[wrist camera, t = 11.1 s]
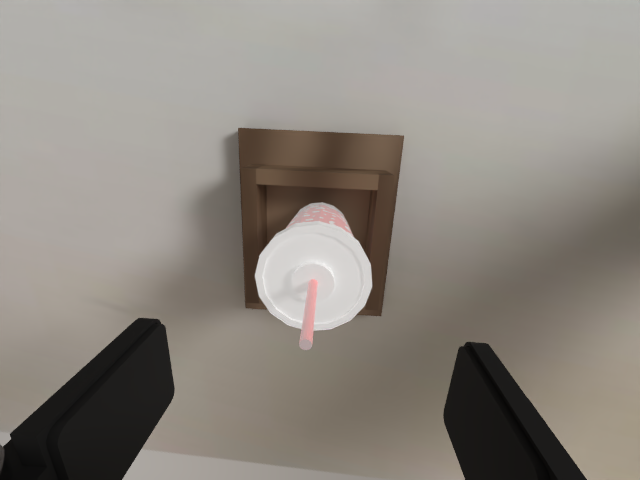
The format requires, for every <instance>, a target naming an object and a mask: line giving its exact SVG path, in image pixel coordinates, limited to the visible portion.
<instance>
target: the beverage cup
mask: <svg viewBox="0 0 640 480" xmlns="http://www.w3.org/2000/svg"><path fill="white" fill-rule="evenodd" d="M255 280H256V285H257V290H258V295H259V297H260V299H261V300H262V302H263V303H264V304H265V306H266V307H267V309H268V310H269V312H270V313H271V314H272V315H274V316H275V317H277V318H278V319H280V320H281V321H282V322H284V323H285V324H287V325H288V326H292V327H296V328H300V329H301V335H300V341H299V346H300V348H301V349H303V350H309V349H310V348H311V347H312V342H313V331H316V330H330V329H333V328H335V327H337V326H340V325H342V324H344V323H346V322H349V321H350V320H351V319H352V318H353V317H354V316H355V315H356V314H357V313H358V312H359V311H360V310H361V309H362V308H363V307H364V306H365V304H366V302H367V299H368V297H369V294H370V291H371V289H372V274H371V264H370V262H369V260H368V258H367V256H366V254H365V252H364V250H363V248H362V247H361V245H360V243H359V241H358V240H357V239H355V238H354V236H353V234H352V232H351V230H350V227H349V225H348V223H347V221H346V219H345V217H344V215H343V213H342V212H341V211H339V210H338V209H337V208H336V207H334V206H333V205H330V204H326V203H323V202H321V203H311V204H309V205H307V206H305V207H303V208H302V209H300V211H299V212H298V213H297V214H296V216H295V217H294V218H293V219H292V221H291V222H290V223H289V225H288V226H287V227H286V229H284V230H282V231H280V232H279V233H277V234H276V235H275V236H274V237H273V239H272V240H271V241H270V242H269V244H268V245H267V246H266V247H265V249H264V250H263V251H262V252H261V254H260V256H259V260H258V264H257V268H256V273H255Z"/></svg>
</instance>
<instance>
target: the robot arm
mask: <svg viewBox="0 0 640 480" xmlns="http://www.w3.org/2000/svg"><path fill="white" fill-rule="evenodd" d="M173 396H174V382H173V375H172V369H171V362H170V355H169V348H168V342H167V335H166V328H165V326H164V325H163V324H161V322H160V321H159V320H158V319H149V318H138V319H137V320H135V321H134V322H133V323H132V324H131V325H130V326H129V327H128V328H127V329H125V330H124V331H123V332H122V333H121V334H120V335H119V336H118V337H117V338H115V339H114V340H113V341H112V342H111V343H110V344H109V345H108V346H107V347H106V348H104V349H103V350H102V351H101V352H100V353H99V354H98V355H97V356H96V357H94V358H93V359H92V360H91V361H90V362H89V363H88V364H87V365H86V366H85V367H83V368H82V369H81V370H80V371H79V372H78V373H77V374H76V375H75V376H73V377H72V378H71V379H70V380H69V381H68V382H67V383H66V384H65V385H64V386H62V387H61V388H60V389H59V390H58V391H57V392H56V393H55V394H54V395H53V396H51V397H50V398H49V399H48V400H47V401H46V402H45V403H44V404H43V405H41V406H40V407H39V408H38V409H37V410H36V411H35V412H34V413H33V414H32V415H30V416H29V417H28V418H27V419H26V420H25V421H24V422H23V423H22V424H20V425H19V426H18V427H17V428H16V429H15V430H14V431H13V432H12V433H11V434H10V436H11V440H10V441H9V442H8V443H7V444H6V445H4V446H3V447H2V446H1V445H0V480H122V479H123V477H124V475H125V474H126V472H127V471H128V469H129V467H130V466H131V464H132V463H133V461H134V460H135V458H136V456H137V455H138V453H139V452H140V450H141V449H142V447H143V445H144V444H145V442H146V441H147V439H148V437H149V436H150V434H151V433H152V431H153V430H154V428H155V426H156V425H157V423H158V422H159V420H160V418H161V417H162V415H163V414H164V412H165V411H166V409H167V407H168V406H169V404H170V403H171V401H172V399H173ZM444 423H445V426H446V429H447V431H448V434H449V437H450V439H451V442H452V445H453V448H454V450H455V453H456V456H457V458H458V461H459V464H460V467H461V469H462V472H463V475H464V477H465V480H587V479H586V478H585V476H584V475H583V474H582V472H581V471H580V469H579V468H578V467H577V465H576V464H575V462H574V461H573V460H572V458H571V457H570V456H569V454H568V453H567V451H566V450H565V449H564V447H563V446H562V445H561V443H560V442H559V440H558V439H557V438H556V436H555V435H554V433H553V432H552V431H551V429H550V428H549V427H548V425H547V424H546V422H545V421H544V420H543V418H542V417H541V416H540V414H539V413H538V411H537V410H536V409H535V407H534V406H533V404H532V403H531V402H530V400H529V399H528V398H527V397H526V396H525V394H524V393H523V391H522V390H521V389H520V387H519V386H518V384H517V383H516V382H515V380H514V379H513V378H512V376H511V375H510V373H509V372H508V371H507V369H506V368H505V366H504V365H503V364H502V362H501V361H500V360H499V358H498V357H497V355H496V354H495V353H494V351H493V350H492V348H491V347H490V346H489V345H488V344H486V343H475V342H466V343H465V345H464V347H463V346H461V347H460V348H459V350H458V354H457V358H456V362H455V366H454V370H453V375H452V379H451V383H450V387H449V391H448V395H447V400H446V404H445V408H444Z"/></svg>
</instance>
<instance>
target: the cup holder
mask: <svg viewBox="0 0 640 480" xmlns="http://www.w3.org/2000/svg"><path fill="white" fill-rule="evenodd" d="M238 135H239V159H240V184H241V208H242V233H243V257H244V281H245V306H246V308H252V309H267V307H266V306H265V304H264V303H263V302H262V300H261V299H260V297H259V295H258V290H257V285H256V280H255V273H256V268H257V264H258V260H259V256H260V254H261V252H262V251H263V250H264V249H265V247H266V246H267V245H268V244H269V242H270V241H271V240H272V239H273V237H274V236H275V235H276V234H277V233H279V232H280V231H282V230H284V229H286V227H287V226H288V225H289V223H290V222H291V221H292V219H293V218H294V217H295V216H296V214H297V213H298V212H299V211H300V209H302V208H303V207H305V206H307V205H309V204H311V203H321V202H323V203H326V204H330V205H333V206H334V207H336V208H337V209H338V210H339V211H341V212H342V213H343V215H344V217H345V219H346V221H347V223H348V225H349V227H350V230H351V232H352V234H353V236H354V238H355V239H357V240H358V241H359V243H360V245H361V247H362V248H363V250H364V252H365V254H366V256H367V258H368V260H369V262H370V264H371V274H372V289H371V291H370V294H369V297H368V299H367V302H366V304H365V306H364V307H363V308H362V309H361V310H360V311H359V312H358V313H357V314H356V315H371V316H381V313H382V305H383V297H384V289H385V282H386V274H387V266H388V258H389V250H390V243H391V235H392V227H393V219H394V211H395V203H396V196H397V188H398V180H399V172H400V164H401V156H402V149H403V141H404V136H400V135H378V134H357V133H335V132H314V131H292V130H271V129H249V128H238Z"/></svg>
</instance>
